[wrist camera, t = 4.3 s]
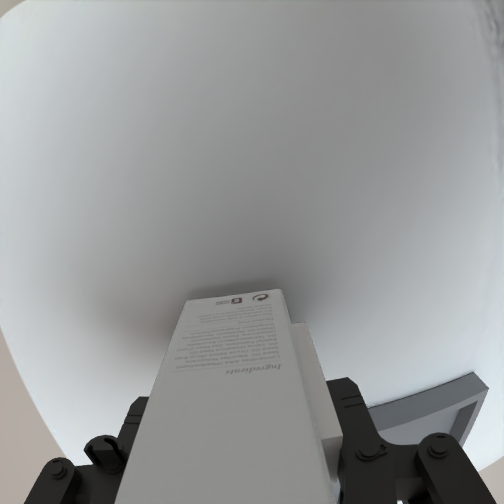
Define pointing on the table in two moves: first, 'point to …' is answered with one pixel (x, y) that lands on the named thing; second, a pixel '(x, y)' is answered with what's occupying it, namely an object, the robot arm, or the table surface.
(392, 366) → the table surface
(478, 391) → the tray
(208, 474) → the skincare box
